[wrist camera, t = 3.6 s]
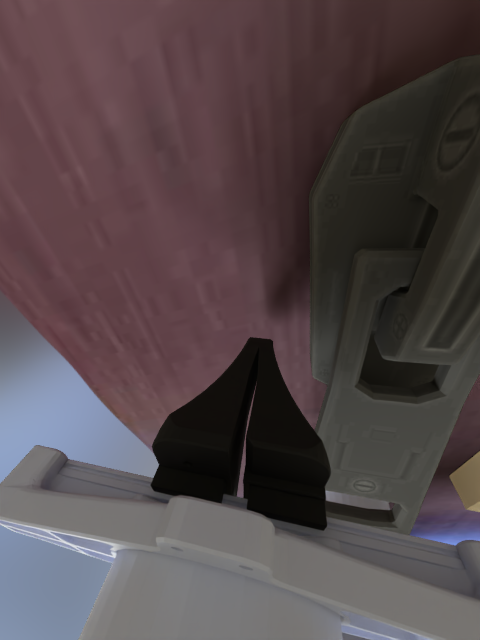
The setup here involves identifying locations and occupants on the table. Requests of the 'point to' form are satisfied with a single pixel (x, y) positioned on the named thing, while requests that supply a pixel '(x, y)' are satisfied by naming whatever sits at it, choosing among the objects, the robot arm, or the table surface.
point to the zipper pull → (397, 289)
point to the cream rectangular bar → (468, 483)
